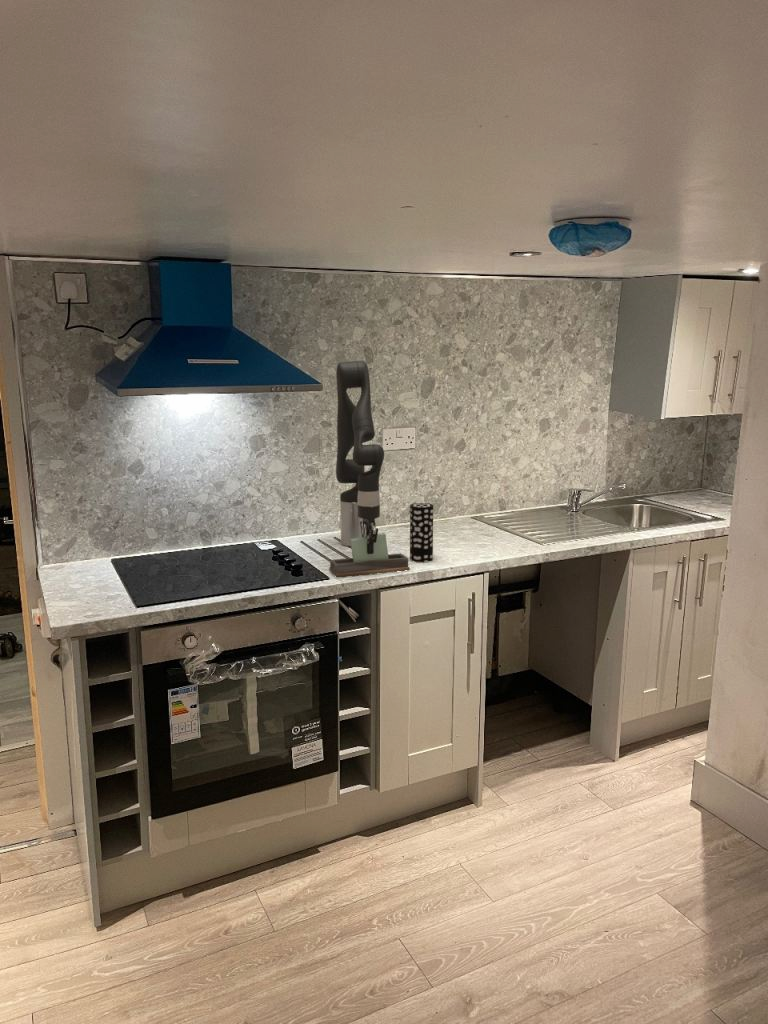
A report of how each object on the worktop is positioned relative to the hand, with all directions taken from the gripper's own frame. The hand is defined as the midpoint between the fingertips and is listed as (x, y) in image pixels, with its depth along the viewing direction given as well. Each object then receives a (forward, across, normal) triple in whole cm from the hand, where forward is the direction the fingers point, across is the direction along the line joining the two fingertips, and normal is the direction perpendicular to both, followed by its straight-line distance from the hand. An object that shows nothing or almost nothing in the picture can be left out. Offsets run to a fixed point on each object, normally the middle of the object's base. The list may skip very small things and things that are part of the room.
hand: (369, 552), depth 268 cm
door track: (+6, 0, 0) cm, 6 cm away
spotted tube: (+6, -7, +22) cm, 24 cm away
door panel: (+4, 0, +1) cm, 4 cm away
